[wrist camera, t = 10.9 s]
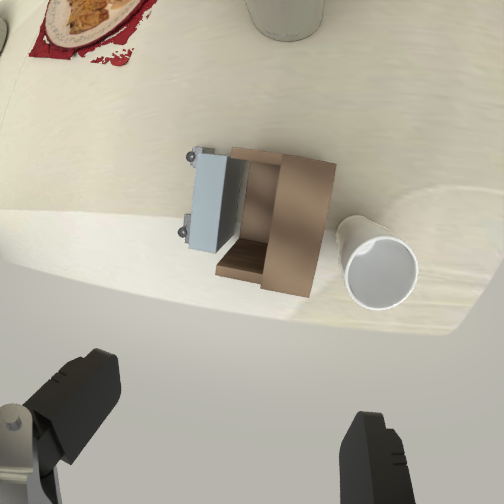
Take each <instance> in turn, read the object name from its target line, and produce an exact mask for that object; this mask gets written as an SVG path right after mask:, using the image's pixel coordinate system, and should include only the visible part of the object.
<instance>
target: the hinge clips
mask: <svg viewBox="0 0 504 504" xmlns="http://www.w3.org/2000/svg"><path fill="white" fill-rule="evenodd" d="M198 153H202V154H214V149H210V148H203V147H193V148H192V152H188V153H187V155H186V159H187V160H188V161H189V162H191V163H190V165H193V167H194V168H196V167H197V159H198ZM190 225H191V215H189V214H185V215H184V225H183V227H182V228H180V229H179V230H178V235H179V236H180V237H182V238H184V237H185V243H188V244H189V236H190Z"/></svg>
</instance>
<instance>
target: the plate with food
mask: <svg viewBox="0 0 504 504" xmlns="http://www.w3.org/2000/svg"><path fill="white" fill-rule="evenodd" d="M155 2H156V0H49V2H48V5H47V10H46V13H45V18H44V20H43V23H42V25H41V26H40V32H39V36H38V38H37V40H36V43H35V45H34V47H33V49H32V50H31V52H30V53H29V57H44V58H45V57H47V56H49V58H56V59H68V60H70V57H72V56H73V54H74V53H75V52H78V54H79V55H80V57H85V56H84V55H85V54H86V53H87V52H89V51H90V52H91V51H94V50H95V47H96V48H97V47H100V46H101V45H106V44H108V43H112V42H113V44H119V45H124V44H126V43H127V40H128V38H129V37H130V36H131V35H132V34H133V33H134V32H135V31H136V30H137V28H135V27H136V25H137V24H139V23H140V22H139V21H140V20H142V19H143V18H142V17H143V16H141V15H143V14H144V12H145V11H147V10H148V9H149V8H151V7H152V5H153V4H154V3H155ZM155 4H156V3H155ZM147 7H148V8H147ZM148 15H149V14H148ZM148 15H147V16H146V17H147V18H148ZM142 21H143V20H142ZM139 25H140V24H139ZM124 26H126V27H127V28H125V29H124V30H123V31H121V32H120V33H118V34H117V35H116V32H119V30H121V29H122V28H124ZM137 26H138V25H137ZM112 34H115V35H116V36H114V37H112V38H110V39H108V40H106V41H104V40H105V39H106V38H108V37H109V36H110V35H112ZM44 35H46V37H47V40H48V41H49V43H50V44H47V43H46V45H45V40H44V41H43V38H44ZM112 40H113V41H112ZM103 41H104V42H103ZM101 42H103V43H102V44H101ZM100 44H101V45H100ZM133 49H134V48H132V50H133ZM123 51H126V50H125V49H123ZM117 52H118V51H116V53H117ZM130 53H131V51H130V49H128V54H125V55H123V54H120V56H121V57H122V58H119V57H118V56H117V55H115V54H114V53H112V54H113V55H112V56H115V57H114V58H108V57H106V58H105V62H104V60H103V58H104V57H101V58H98V57H97V59H96V60H93V61H91V62H92V63H96V62H97V63H99V62H101V61H102V60H103V61H102V64H105V63H106V62H107V61H109V60H110V61H111V64H112V65H115V66H120V65H123V64H124V63H126V62H127V61H128V59H129V58H127V57H125V56H129V57H130V56H131V54H130ZM94 61H95V62H94ZM119 61H121V62H119ZM103 62H104V63H103ZM100 64H101V63H100Z"/></svg>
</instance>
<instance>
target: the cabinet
mask: <svg viewBox="0 0 504 504" xmlns="http://www.w3.org/2000/svg"><path fill="white" fill-rule="evenodd" d="M231 158H234V159H242V160H249V161H251V162H250V168H249V175H248V182H247V188H246V195H245V202H244V209H243V216H242V223H241V229H240V236H239V239H238V240H237V241H236V243H235V244H234V245H233V246H232V247H231V249H230V250H229V251H228V252H227V253H226V254H225V256H224V257H223V258H222V259H221V260H220V262H219V263H218V264H217V265H216V273H215V275H218V276H222V277H227V278H232V279H237V280H242V281H247V282H252V283H257V284H261V287H260V289H265V290H270V291H275V292H281V293H286V294H291V295H296V296H302V297H307V298H309V296H310V292H311V288H312V283H313V279H314V275H315V270H316V266H317V261H318V257H319V252H320V248H321V243H322V238H323V233H324V228H325V223H326V218H327V213H328V208H329V203H330V198H331V192H332V187H333V181H334V176H335V170H336V164H334V163H329V162H324V161H319V160H314V159H309V158H303V157H298V156H292V155H286V154H278V153H272V152H266V151H259V150H252V149H245V148H237V147H232V151H231Z"/></svg>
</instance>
